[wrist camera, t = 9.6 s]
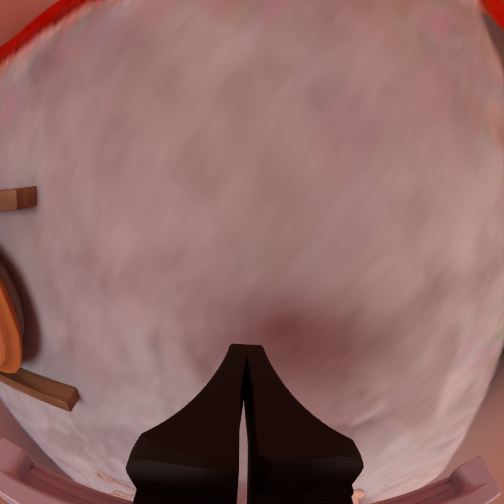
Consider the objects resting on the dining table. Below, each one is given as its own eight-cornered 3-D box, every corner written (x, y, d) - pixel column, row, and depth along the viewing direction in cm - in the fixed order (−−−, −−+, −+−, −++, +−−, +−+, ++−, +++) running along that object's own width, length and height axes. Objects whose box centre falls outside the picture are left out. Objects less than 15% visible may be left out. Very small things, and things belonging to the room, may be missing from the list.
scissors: (85, 469, 29) (203, 494, 29) (87, 466, 30) (204, 490, 29) (109, 495, 32) (213, 514, 32) (110, 492, 33) (213, 511, 32)
